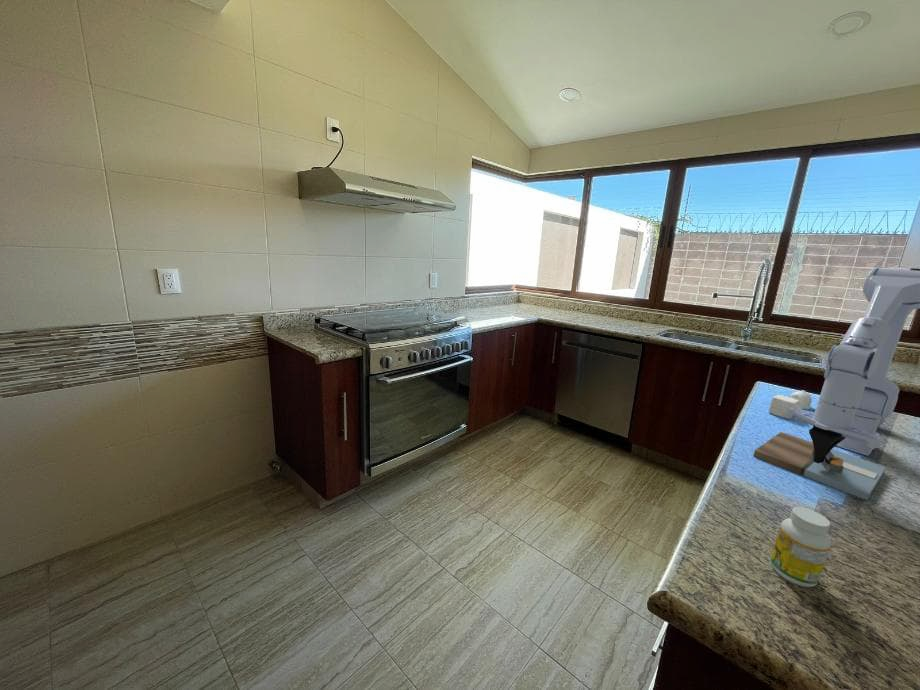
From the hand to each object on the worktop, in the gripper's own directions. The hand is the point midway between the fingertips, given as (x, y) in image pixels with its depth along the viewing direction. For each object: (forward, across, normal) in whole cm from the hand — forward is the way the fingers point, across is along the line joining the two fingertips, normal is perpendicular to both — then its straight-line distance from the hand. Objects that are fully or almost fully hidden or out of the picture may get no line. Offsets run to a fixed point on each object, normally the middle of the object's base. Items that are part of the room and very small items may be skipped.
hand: (818, 461), depth 80 cm
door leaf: (+3, +2, +6) cm, 7 cm away
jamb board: (+3, -7, +4) cm, 9 cm away
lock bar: (+1, 0, +3) cm, 4 cm away
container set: (+3, -23, +37) cm, 44 cm away
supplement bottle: (+3, +14, -36) cm, 39 cm away
